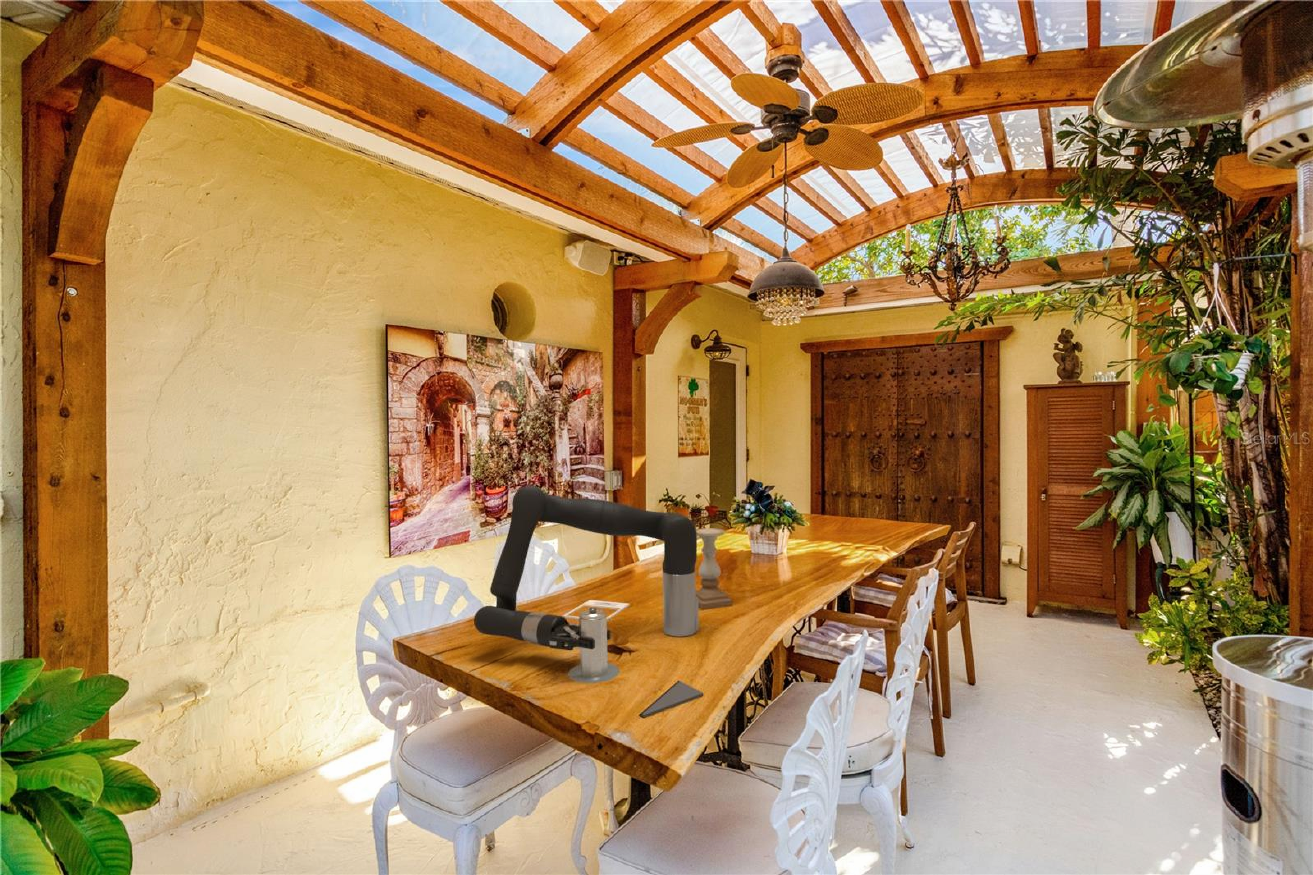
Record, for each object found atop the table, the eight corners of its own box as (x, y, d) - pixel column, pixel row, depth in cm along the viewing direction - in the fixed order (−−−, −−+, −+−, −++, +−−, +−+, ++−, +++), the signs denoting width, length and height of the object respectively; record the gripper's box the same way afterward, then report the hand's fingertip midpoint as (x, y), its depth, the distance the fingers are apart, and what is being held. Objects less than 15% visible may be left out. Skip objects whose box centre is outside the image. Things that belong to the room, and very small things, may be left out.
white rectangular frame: (629, 603, 200) (605, 619, 183) (629, 606, 200) (605, 623, 183) (589, 599, 205) (562, 615, 188) (589, 602, 205) (562, 618, 188)
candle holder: (688, 600, 203) (686, 529, 203) (717, 596, 207) (716, 526, 207) (702, 609, 193) (700, 534, 193) (732, 605, 197) (731, 532, 197)
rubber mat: (658, 672, 145) (658, 670, 145) (703, 695, 132) (703, 693, 132) (601, 691, 135) (601, 688, 135) (643, 718, 122) (643, 715, 122)
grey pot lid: (602, 662, 152) (602, 650, 152) (629, 677, 142) (629, 664, 142) (559, 674, 145) (559, 662, 145) (584, 692, 135) (584, 678, 135)
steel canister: (590, 665, 147) (589, 603, 147) (611, 669, 145) (610, 606, 144) (576, 674, 142) (574, 610, 142) (597, 679, 139) (596, 614, 139)
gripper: (525, 623, 144) (584, 633, 136) (562, 606, 156) (618, 615, 148) (526, 654, 144) (584, 666, 136) (562, 635, 156) (618, 645, 149)
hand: (601, 639), depth 142 cm, fingers closed on steel canister, 6 cm apart
